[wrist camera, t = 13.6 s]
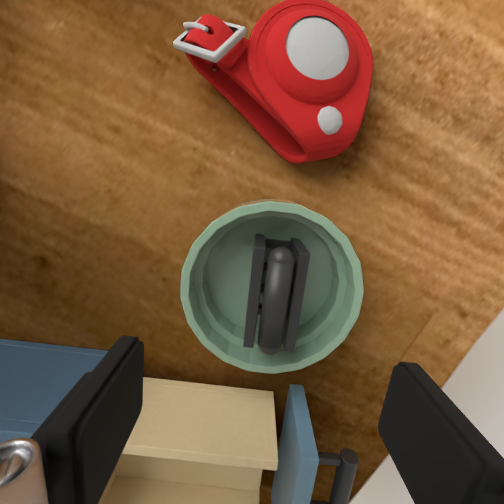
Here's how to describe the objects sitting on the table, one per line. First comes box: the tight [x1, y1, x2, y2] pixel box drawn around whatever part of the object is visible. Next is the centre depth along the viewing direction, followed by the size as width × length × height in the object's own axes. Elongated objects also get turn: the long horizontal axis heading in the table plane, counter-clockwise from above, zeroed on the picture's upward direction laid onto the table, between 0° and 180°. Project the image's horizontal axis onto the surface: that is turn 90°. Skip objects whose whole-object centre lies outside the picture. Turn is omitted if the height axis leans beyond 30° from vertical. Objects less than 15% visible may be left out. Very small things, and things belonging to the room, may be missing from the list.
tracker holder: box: [173, 0, 373, 163], centre depth 18 cm, size 12×4×10 cm
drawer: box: [98, 377, 359, 504], centre depth 23 cm, size 21×12×7 cm, turn 84°
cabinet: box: [0, 339, 108, 443], centre depth 23 cm, size 18×14×9 cm
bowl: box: [180, 198, 364, 374], centre depth 21 cm, size 12×12×4 cm
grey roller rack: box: [243, 234, 310, 355], centre depth 20 cm, size 7×3×6 cm, turn 174°
